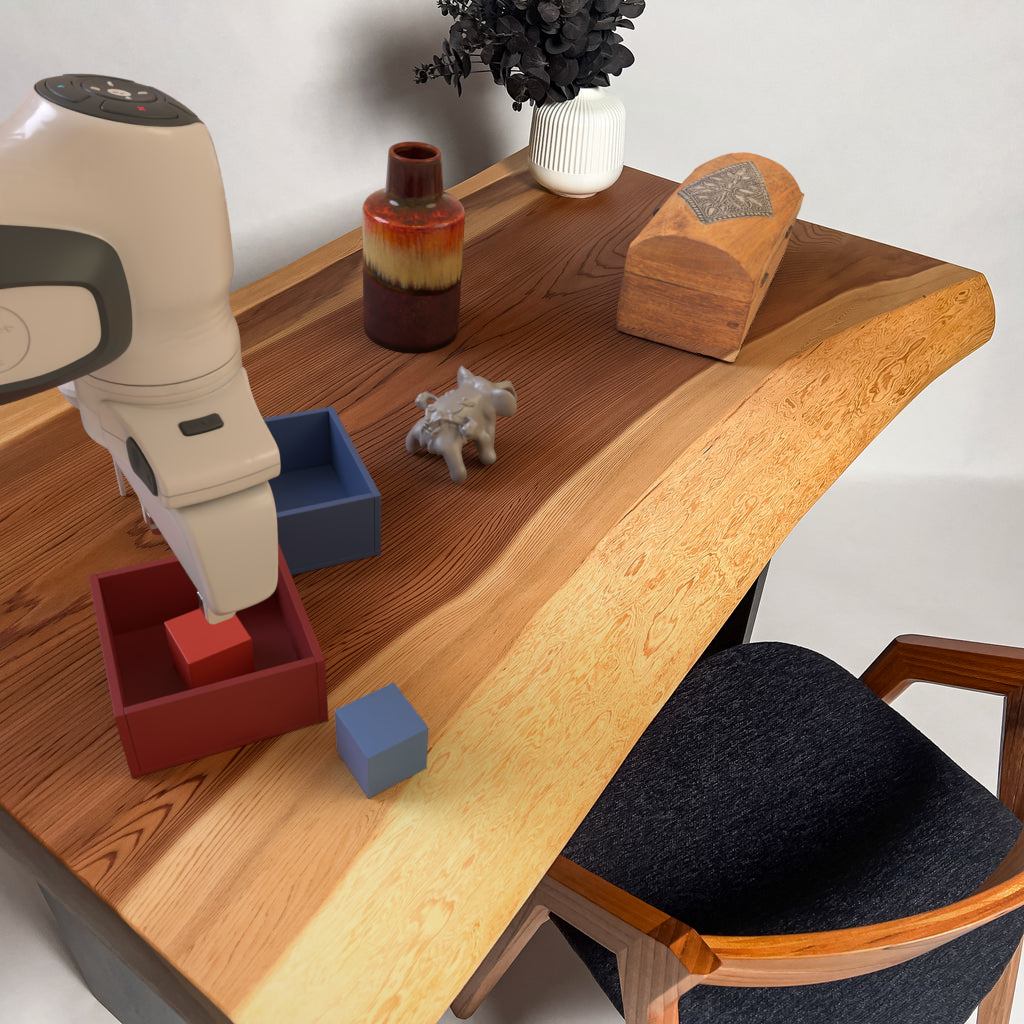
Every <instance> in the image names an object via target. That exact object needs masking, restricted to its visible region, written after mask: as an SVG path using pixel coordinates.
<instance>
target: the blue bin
mask: <svg viewBox="0 0 1024 1024" xmlns="http://www.w3.org/2000/svg"><path fill="white" fill-rule="evenodd" d="M263 419H264V421H265V423H266V425H267V426H268V428H269V430H270V432H271V434H272V436H273V438H274V440H275V442H276V444H277V446H278V449H279V454H280V465H281V468H280V474H279V475H278V476H277V477H274V478H272V479H270V480H268V482H269V485H270V487H271V490H272V493H273V497H274V502H275V507H276V515H277V531H278V543H279V545H280V548H281V550H282V553H283V555H284V558H285V560H286V563H287V565H288V568H289V570H290V573H291V575H292V576H295V575H299V574H303V573H307V572H312V571H316V570H320V569H321V570H322V569H324V568H329V567H333V566H336V565H341V564H346V563H350V562H354V561H355V562H356V561H358V560H362V559H368V558H372V557H375V556H379V555H382V495H381V492H380V491H379V489H378V487H377V484H376V483H375V482H374V479H373V478H372V476H371V474H370V472H369V470H368V469H367V466H366V465H365V463H364V461H363V459H362V457H361V455H360V453H359V452H358V449H357V448H356V446H355V444H354V442H353V440H352V438H351V436H350V434H349V433H348V431H347V429H346V428H345V426H344V423H343V422H342V420H341V418H340V416H339V415H338V413H337V411H336V409H335V407H334V406H333V405H332V406H327V407H326V406H325V407H320V408H313V409H309V410H304V411H297V412H292V413H286V414H285V413H284V414H278V415H274V416H268V417H263Z"/></svg>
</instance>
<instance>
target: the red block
mask: <svg viewBox="0 0 1024 1024" xmlns="http://www.w3.org/2000/svg"><path fill="white" fill-rule="evenodd" d="M164 625H165V629H166V634H167V639H168V644H169V648H170V653H171V658H172V663H173V665H174V667H175V669H176V671H177V673H178V674H179V676H180V678H181V680H182V681H183V683H184V685H185V687H186V688H187V690H191V689H195V688H199V687H202V686H206V685H210V684H213V683H217V682H221V681H224V680H228V679H232V678H236V677H239V676H243V675H247V674H250V673H254V672H256V671H255V663H254V655H253V647H252V639H251V637H250V636H249V634H248V633H247V631H246V629H245V628H244V626H243V625H242V623H241V622H240V620H239V619H238V617H237V616H236V614H235V615H234V616H233V617H232V618H230V619H228V620H225V621H222V622H220V623H217V624H210V623H209V622H208V621H207V619H206V618H205V616H204V614H203V613H202V611H201V609H197V610H195V611H192V612H189V613H187V614H184V615H182V616H179V617H176V618H174V619H171V620H168V621H166V622H164Z"/></svg>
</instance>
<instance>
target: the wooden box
mask: <svg viewBox="0 0 1024 1024" xmlns="http://www.w3.org/2000/svg"><path fill="white" fill-rule="evenodd" d="M804 197H805V193H803V192H802V191H801V188H800V186H799V183H798V182H797V180H796V179H795V177H794V175H792V173H791V172H789V170H788V169H787V168H786V167H784V166H783V165H782V164H780V163H779V162H777V161H775V160H773V159H771V158H768V157H765V156H763V155H759V154H756V153H752V152H745V151H744V152H730V153H726V154H721V155H719V156H717V157H714V158H712V159H709V160H707V161H705V162H703V163H701V164H700V165H699V166H697V167H695V168H694V169H693V170H692V172H691V173H690V174H689V175H688V176H687V177H686V178H685V179H683V181H682V182H681V183H680V185H678V187H677V188H676V189H675V190H674V191H673V193H672V194H671V195H670V196H669V198H668V199H667V200H666V201H665V202H664V203H663V204H660V205H658V206H657V207H655V208H654V209H653V211H652V218H651V219H650V220H649V222H648V223H647V224H646V225H645V227H644V228H643V229H642V230H641V231H640V232H639V233H638V235H637V236H636V237H635V238H634V239H633V240H632V241H631V242H630V244H629V247H628V250H627V253H626V256H625V262H624V267H623V269H624V272H623V276H622V280H621V284H620V285H621V286H620V289H619V296H618V304H617V311H616V321H617V323H620V324H623V325H628V326H631V327H635V328H641V329H644V330H649V331H653V332H658V333H662V334H664V335H668V336H672V337H677V338H681V339H684V340H690V341H696V342H698V343H703V344H708V345H714V346H717V347H722V348H727V349H733V350H739V349H740V347H741V344H742V342H743V340H744V338H745V336H746V333H747V331H748V329H749V327H750V324H751V322H752V320H753V318H754V316H755V313H756V311H757V309H758V307H759V305H760V303H761V301H762V299H763V297H764V294H765V292H766V290H767V288H768V286H769V284H770V282H771V280H772V278H773V276H774V273H775V271H776V269H777V267H778V265H779V263H780V261H781V259H782V257H783V258H784V256H785V253H786V250H787V247H788V244H789V242H790V238H791V235H792V232H793V231H794V227H795V223H796V221H797V217H798V215H799V214H800V211H801V207H802V204H803V202H804ZM783 255H784V256H783ZM782 260H783V259H782ZM617 323H615V324H616V325H615V327H616V330H617V331H619V332H622V333H625V334H628V335H631V336H635V337H638V338H641V339H645V340H649V341H652V342H655V343H659V344H663V345H666V346H670V347H673V348H677V349H680V350H684V351H686V352H689V353H694V354H697V353H698V351H699V350H700V351H701V349H697V350H696V348H695V347H691V346H688V345H684V344H681V343H677V342H674V341H670V340H667V339H664V338H660V337H657V336H653V335H650V334H646V333H643V332H640V331H636V330H633V329H629V328H626V327H623V326H620V325H618V324H617ZM694 349H695V350H694ZM696 352H697V353H696Z"/></svg>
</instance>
